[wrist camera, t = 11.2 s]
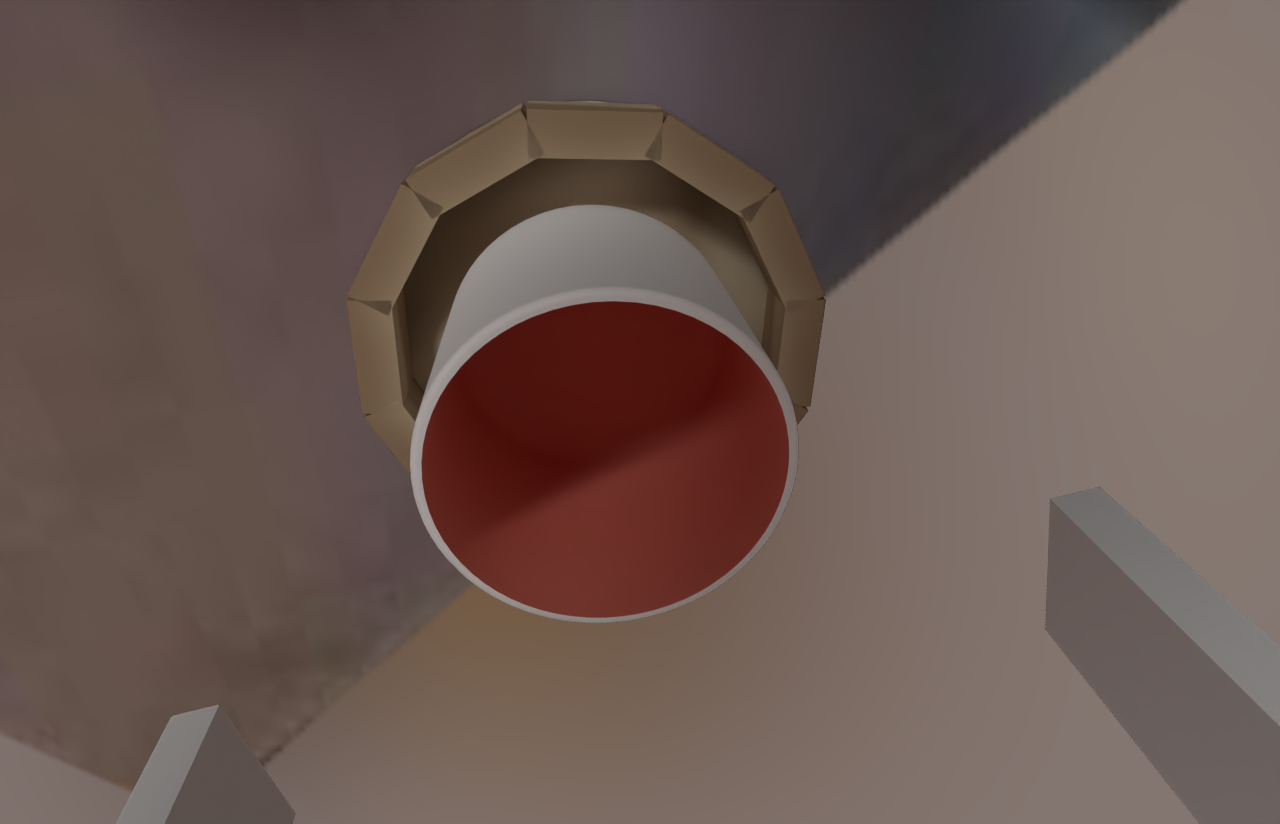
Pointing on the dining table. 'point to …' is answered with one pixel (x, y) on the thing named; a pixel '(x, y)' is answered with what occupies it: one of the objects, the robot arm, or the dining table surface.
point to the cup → (600, 422)
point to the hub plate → (556, 178)
